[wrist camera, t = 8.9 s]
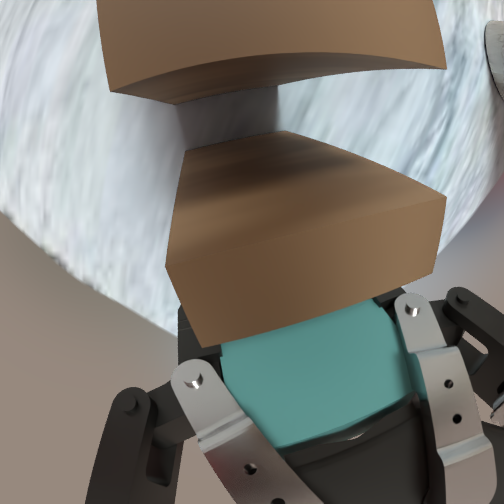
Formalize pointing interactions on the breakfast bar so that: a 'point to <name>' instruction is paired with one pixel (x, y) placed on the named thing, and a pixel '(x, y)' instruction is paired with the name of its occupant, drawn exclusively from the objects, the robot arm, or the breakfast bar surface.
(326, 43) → the domino
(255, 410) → the teal domino
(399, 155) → the breakfast bar surface
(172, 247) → the domino
